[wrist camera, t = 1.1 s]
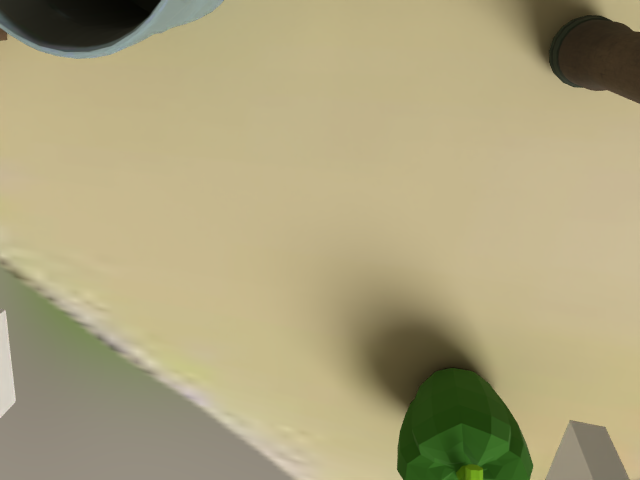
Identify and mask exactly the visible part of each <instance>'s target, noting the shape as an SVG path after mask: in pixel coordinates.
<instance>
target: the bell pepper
mask: <svg viewBox="0 0 640 480" xmlns="http://www.w3.org/2000/svg"><path fill="white" fill-rule="evenodd" d="M532 469H533V463H532V460H531V457H530V454H529V451H528V447H527V444H526V442H525V439H524V437H523V435H522V433H521V430H520V428H519V426H518V424H517V422H516V420H515V419H514V417H513V415H512V414H511V412H510V411H509V409H508V408H507V406H506V405H505V403H504V402H503V401H502V399H501V398H500V397H499V396H498V395H497V393H496V392H495V391H494V389H493V388H492V387H491V385H490V384H489V383H488V382H486V381H485V380H484V379H483V378H481V377H480V376H479V375H477V374H476V373H475V372H472V371H469V370H463V369H457V368H449V369H444V370H439V371H436V372H434V373H433V374H432V375H431V376H430V377H429V378H428V379H427V380H426V381H425V382H424V383H423V384H421V385H420V387H419V389H418V392H417V394H416V397H415V399H414V400H413V401H412V402H411V403H410V406H409V408H408V410H407V412H406V415H405V418H404V421H403V424H402V427H401V430H400V435H399V443H398V460H397V470H398V472H399V473H400V475H401V477H402V478H403V480H530V476H531V473H532Z"/></svg>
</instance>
